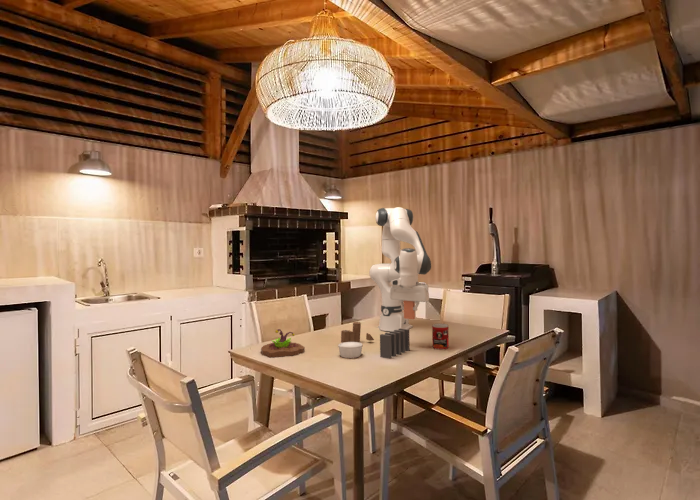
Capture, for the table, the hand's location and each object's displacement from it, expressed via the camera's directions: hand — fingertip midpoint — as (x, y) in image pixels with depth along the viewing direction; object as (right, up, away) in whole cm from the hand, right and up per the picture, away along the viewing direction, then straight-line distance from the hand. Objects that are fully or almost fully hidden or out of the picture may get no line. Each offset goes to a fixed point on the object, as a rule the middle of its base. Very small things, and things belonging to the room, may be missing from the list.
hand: (409, 310), depth 201 cm
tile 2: (-6, -19, -7) cm, 21 cm away
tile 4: (-10, -19, -14) cm, 25 cm away
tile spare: (0, -4, 0) cm, 4 cm away
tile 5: (-13, -19, -17) cm, 28 cm away
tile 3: (-8, -19, -11) cm, 23 cm away
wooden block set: (-26, -19, +11) cm, 34 cm away
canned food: (+15, -18, 0) cm, 24 cm away
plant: (-62, -20, -2) cm, 65 cm away
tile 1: (-3, -19, -4) cm, 19 cm away
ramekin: (-29, -19, -13) cm, 37 cm away
